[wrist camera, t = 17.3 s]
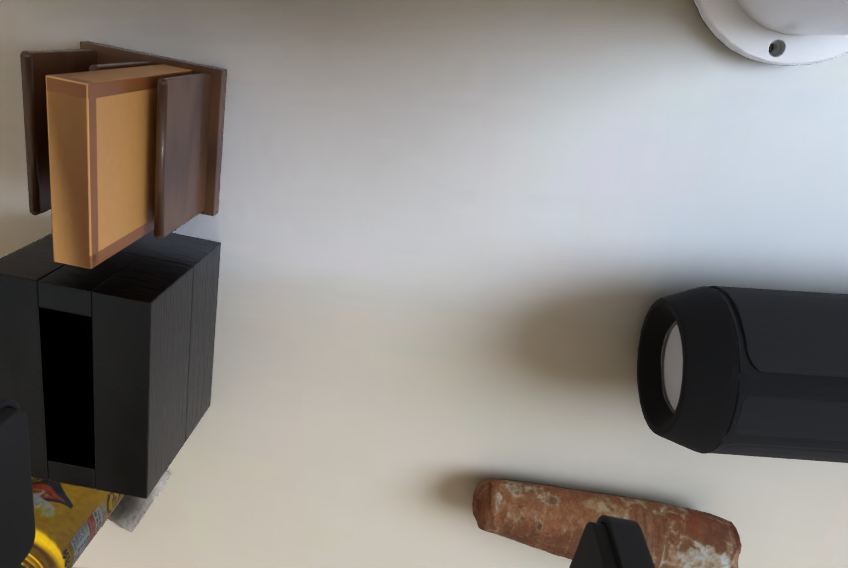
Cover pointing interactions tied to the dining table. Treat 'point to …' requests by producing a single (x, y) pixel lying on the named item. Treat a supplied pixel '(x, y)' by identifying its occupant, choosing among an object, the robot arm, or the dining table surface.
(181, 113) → the rack
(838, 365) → the portable speaker
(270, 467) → the dining table surface
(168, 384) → the toaster
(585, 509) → the reddish-brown tapered rod
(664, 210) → the dining table surface
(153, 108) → the toast
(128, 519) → the condiment
